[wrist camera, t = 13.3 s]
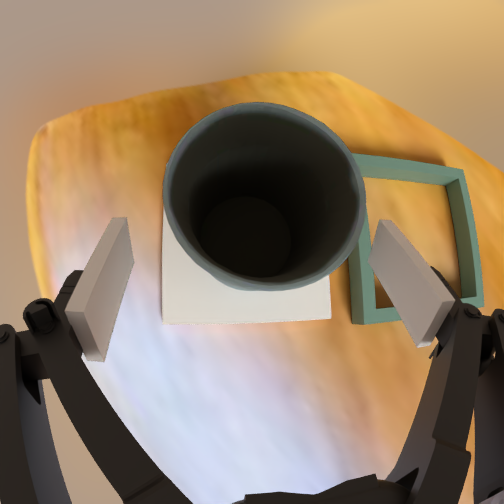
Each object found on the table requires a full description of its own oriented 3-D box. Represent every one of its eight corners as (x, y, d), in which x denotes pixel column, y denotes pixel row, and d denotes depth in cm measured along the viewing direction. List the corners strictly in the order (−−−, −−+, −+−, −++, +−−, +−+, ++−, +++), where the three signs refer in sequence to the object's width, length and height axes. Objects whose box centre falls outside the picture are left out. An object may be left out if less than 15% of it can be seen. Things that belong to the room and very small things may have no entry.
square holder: (450, 177, 32) (462, 169, 29) (469, 307, 29) (484, 306, 26) (337, 164, 30) (346, 152, 28) (352, 324, 27) (364, 324, 25)
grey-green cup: (322, 274, 27) (396, 244, 15) (211, 320, 25) (207, 327, 13) (276, 169, 28) (313, 85, 16) (168, 207, 26) (139, 132, 15)
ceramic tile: (316, 168, 30) (318, 165, 29) (328, 318, 27) (331, 318, 26) (167, 167, 28) (166, 163, 27) (164, 324, 25) (162, 324, 25)
